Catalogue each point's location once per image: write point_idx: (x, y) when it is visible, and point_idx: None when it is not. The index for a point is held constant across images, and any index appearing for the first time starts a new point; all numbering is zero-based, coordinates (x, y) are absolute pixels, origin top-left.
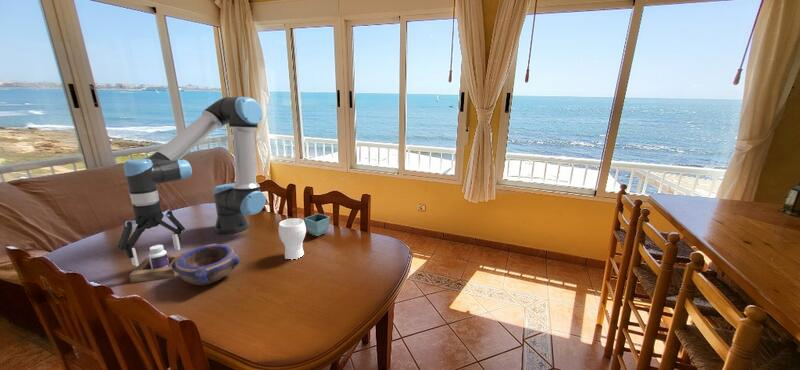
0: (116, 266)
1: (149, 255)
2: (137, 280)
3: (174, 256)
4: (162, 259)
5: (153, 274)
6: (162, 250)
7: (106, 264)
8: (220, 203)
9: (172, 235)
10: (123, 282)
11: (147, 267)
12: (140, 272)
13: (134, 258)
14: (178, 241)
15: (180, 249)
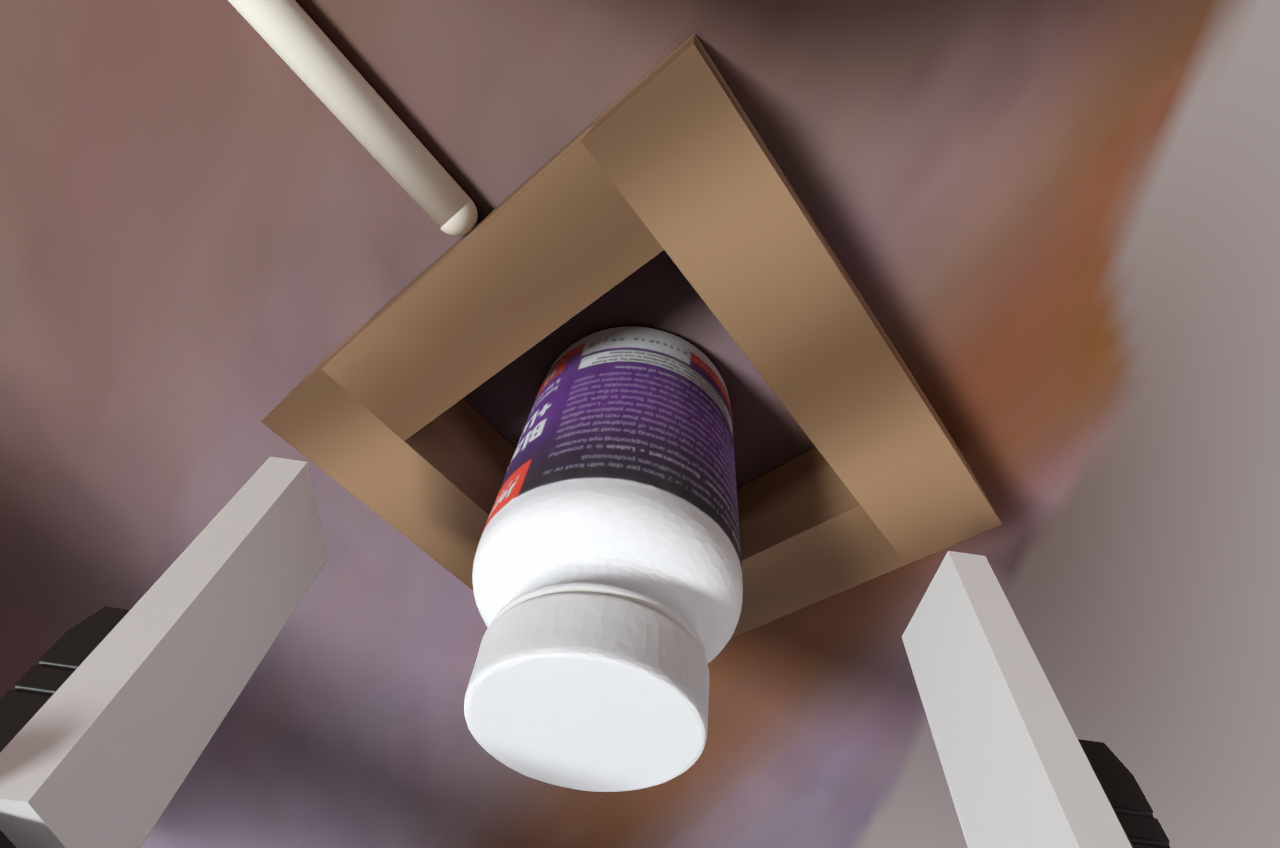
0: (728, 770)
1: (729, 636)
2: (937, 415)
3: (407, 465)
4: (630, 435)
5: (859, 296)
6: (539, 587)
7: (728, 829)
8: None
9: (132, 832)
10: None
11: None
12: (915, 464)
13: (1053, 697)
14: (155, 598)
15: (269, 458)
